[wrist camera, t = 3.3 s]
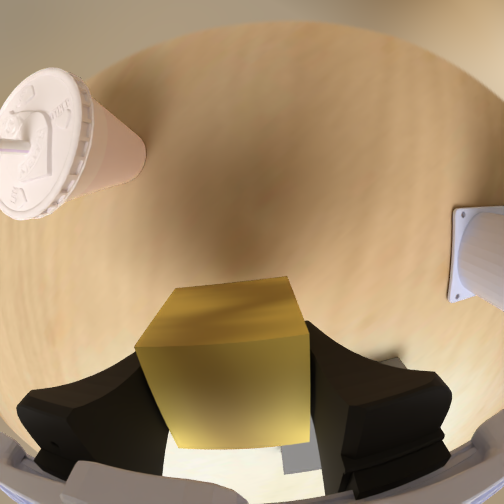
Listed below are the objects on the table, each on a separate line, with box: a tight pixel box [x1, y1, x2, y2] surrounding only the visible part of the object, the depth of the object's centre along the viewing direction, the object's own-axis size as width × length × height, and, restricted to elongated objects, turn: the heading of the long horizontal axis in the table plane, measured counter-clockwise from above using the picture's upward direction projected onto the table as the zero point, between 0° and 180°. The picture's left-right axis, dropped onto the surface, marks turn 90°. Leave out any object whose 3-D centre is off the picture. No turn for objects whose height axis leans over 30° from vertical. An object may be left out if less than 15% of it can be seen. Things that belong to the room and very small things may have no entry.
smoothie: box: [0, 68, 146, 220], centre depth 9 cm, size 6×6×14 cm
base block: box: [281, 357, 407, 474], centre depth 20 cm, size 11×11×4 cm
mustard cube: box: [134, 276, 310, 449], centre depth 10 cm, size 5×5×5 cm
